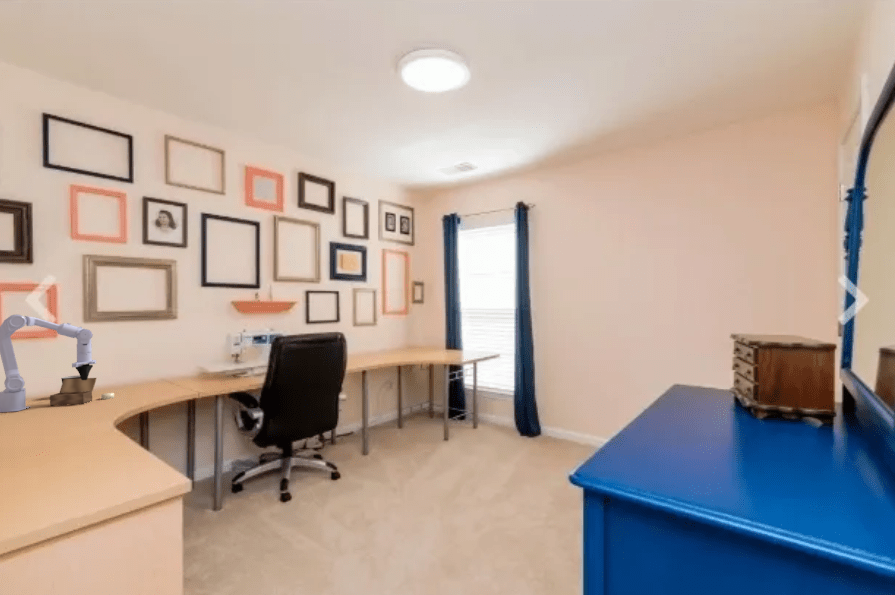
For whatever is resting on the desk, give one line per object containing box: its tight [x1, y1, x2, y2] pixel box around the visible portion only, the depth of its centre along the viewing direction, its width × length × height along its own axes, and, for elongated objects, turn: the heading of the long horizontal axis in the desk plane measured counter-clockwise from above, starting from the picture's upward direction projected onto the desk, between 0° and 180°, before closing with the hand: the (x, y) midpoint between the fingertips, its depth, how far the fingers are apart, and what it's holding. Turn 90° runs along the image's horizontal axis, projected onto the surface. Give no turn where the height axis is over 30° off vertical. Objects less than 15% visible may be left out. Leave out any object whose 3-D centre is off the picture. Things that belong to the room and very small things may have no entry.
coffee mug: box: [61, 374, 81, 384], centre depth 224 cm, size 12×9×10 cm
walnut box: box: [49, 391, 93, 406], centre depth 207 cm, size 14×6×5 cm, turn 101°
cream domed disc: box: [100, 392, 115, 400], centre depth 218 cm, size 5×5×2 cm
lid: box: [59, 377, 97, 393], centre depth 212 cm, size 14×7×1 cm
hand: (84, 379), depth 213 cm, fingers closed, pressing on lid
